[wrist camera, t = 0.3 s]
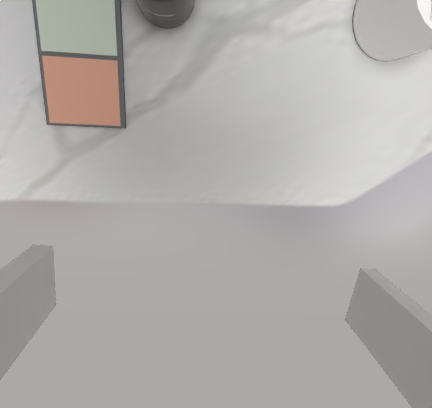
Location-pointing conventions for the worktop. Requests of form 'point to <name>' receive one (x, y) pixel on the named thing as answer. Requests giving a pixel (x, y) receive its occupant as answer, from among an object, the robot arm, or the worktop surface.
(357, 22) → the mug
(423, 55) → the worktop surface
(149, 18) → the supplement bottle
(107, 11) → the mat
